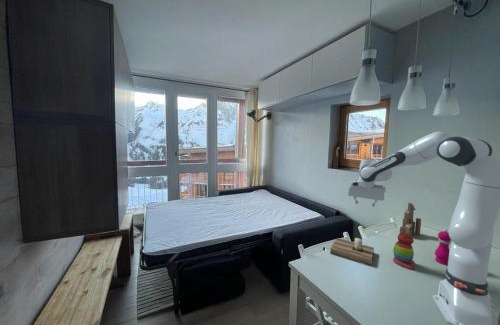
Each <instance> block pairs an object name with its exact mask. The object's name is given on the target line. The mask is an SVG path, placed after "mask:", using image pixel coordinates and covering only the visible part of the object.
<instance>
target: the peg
mask: <svg viewBox="0 0 500 325" xmlns="http://www.w3.org/2000/svg"><path fill="white" fill-rule="evenodd" d="M354 242H355V246H354V250H355V251H359V252H362V245H363V239H362V238H359V237H355V238H354Z"/></svg>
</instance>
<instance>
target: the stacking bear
mask: <svg viewBox="0 0 500 325" xmlns="http://www.w3.org/2000/svg"><path fill="white" fill-rule="evenodd" d="M414 242H415V240H414V239H413V238H412V236H410V235H409V234H406V233H405V232H403V233H400V232H399V234H398V235H397V241H396V242H395V243H394V247H393V249H392V250H393V251H392V252H393V259H392V261H393V263H395V264H396V265H398V266H400V267H402V268H405V269H408V270H415V266H414V265H415V261H414V260H413V259H414V256H415V253H414V249H413V248H414V247H413V243H414Z"/></svg>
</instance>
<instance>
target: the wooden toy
mask: <svg viewBox="0 0 500 325" xmlns="http://www.w3.org/2000/svg"><path fill="white" fill-rule="evenodd" d="M415 211H416V208H415V206H414V204H413V203H412V202H408V203H407V209H405V211H404V215H403V218H402V224H401V225H402V226H400V228H399V234H400V233H403V232H405V233H406V234H409V235H410V236H411V237H412V235H416V236H421V227H422V218H419V217H416V218H415V221H414V215H415V214H414V212H415Z"/></svg>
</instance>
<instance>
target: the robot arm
mask: <svg viewBox="0 0 500 325" xmlns="http://www.w3.org/2000/svg"><path fill="white" fill-rule="evenodd" d="M492 155H493V147H492V145H491V144H490V143H489V142H488V141H485V140H483V139H479V138H473V137H469V136H451V135H450V134H448V133H446V132H444V131H434V132H431V133H430V134H427V135H424V136H423V137H421V138H419V139H417V140H415V141H413V142H411V143H410V144H408V145H406V146H405V147H403V148H401V149H400V150H397V151H396V152H394V153H392V154H389V155H387V156H386V157H384V158H382V159H380V160H377V159H375V158H364V159H362V160H361V161H360V164H359V169H358V170H359V171H358V173H359V177H358V179H357V180H354V181H351V182H350V186H349V188H348V191H347V195H348V196H349V197H353V199H354V201H355V203H354V204H355V205H358V204H359V200H357V198H361V199H367V200H374V201H373V203H372V204H371V207H375V206H376V204H377V202H378V201H381V202H382V201H384V200H385V193H386V191H387V190H386V187H385V185H381V184H375V182H385V181H389V180H390V179H391V178H392V175H393V174H392V169H393V168H397V167H404V166H415V165H421V164H424V163H426V162H429V161H431V160H433V159H435V158H437V157H439V158H441V159H442V160H443V161H446V162H447V163H451V164H452V165H456V166H457V167H464V169H465V174H464V177H463V178H464V179H463V181H462V186H461V188H460V193H459V198H458V201H457V203H456V206H455V207H454V211H453V213H452V215H451V216H452V217H451V219H450V223H449V224H448V225H449V227H448V229H447V231H448V233H449V237H450V239H451V240H450V241H451V243H450V247H449V250H450V251H449V260H448V265H447V268H446V269H445V274H444V279H443V280H440V281H439V285H438V293H437V294H432V300H433V301H434V302H435V305H436V306H437V307H438V309H439V311H440V312H441V314H442V316H443V317H444V319H445V320H446V322H447V323H449V324H450V325H499V322H498V321H499V317H500V316H499V313H498V312H496V311H493V310H492V308H495V304H494V303H493V302H491V295H490V294H489V283H488V281H487V280H488V274H489V273H488V272H489V263H490V259H491V258H490V257H491V251H492V246H493V238H494V231H495V230H494V227H495V225H496V222H497V218H498V215H499V212H500V157H497V156H492Z"/></svg>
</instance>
